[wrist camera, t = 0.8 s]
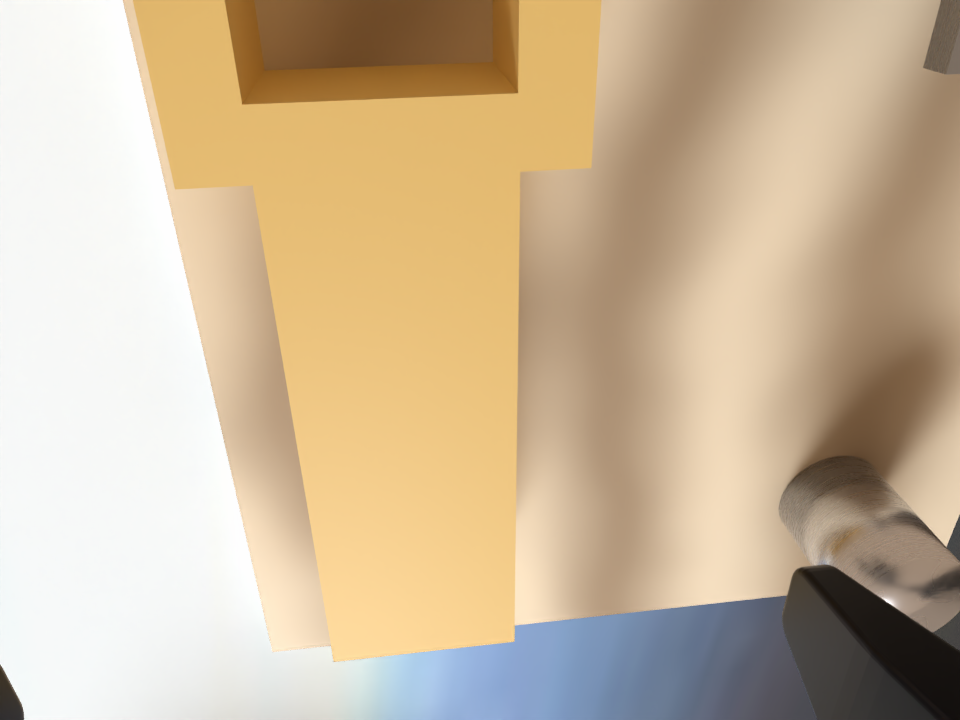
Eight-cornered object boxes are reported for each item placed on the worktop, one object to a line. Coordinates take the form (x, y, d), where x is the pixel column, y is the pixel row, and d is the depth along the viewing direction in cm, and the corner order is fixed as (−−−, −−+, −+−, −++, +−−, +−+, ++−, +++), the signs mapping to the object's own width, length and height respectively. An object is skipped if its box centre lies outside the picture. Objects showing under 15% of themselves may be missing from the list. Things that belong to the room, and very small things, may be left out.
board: (1323, -527, 13) (1392, -559, 12) (914, 556, 26) (933, 579, 25) (9, -586, 11) (-22, -628, 10) (276, 625, 24) (272, 652, 23)
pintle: (890, 451, 22) (987, 552, 18) (864, 530, 23) (950, 637, 20) (789, 460, 21) (869, 565, 18) (770, 540, 23) (840, 650, 19)
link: (540, 551, 22) (563, 636, 19) (292, 576, 21) (282, 667, 19) (571, -318, 12) (624, -378, 10) (117, -324, 12) (44, -391, 9)
